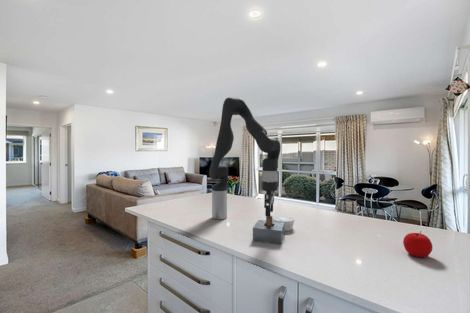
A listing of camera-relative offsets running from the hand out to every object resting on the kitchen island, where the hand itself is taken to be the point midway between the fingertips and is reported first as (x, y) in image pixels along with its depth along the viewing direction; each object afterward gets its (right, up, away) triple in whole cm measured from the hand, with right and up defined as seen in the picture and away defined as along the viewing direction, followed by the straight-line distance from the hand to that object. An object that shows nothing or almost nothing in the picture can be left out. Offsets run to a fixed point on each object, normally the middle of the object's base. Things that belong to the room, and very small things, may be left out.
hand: (269, 213), depth 111 cm
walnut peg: (0, -11, 0) cm, 11 cm away
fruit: (+56, -12, -19) cm, 60 cm away
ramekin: (+10, -11, +14) cm, 20 cm away
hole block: (0, -11, 0) cm, 11 cm away
